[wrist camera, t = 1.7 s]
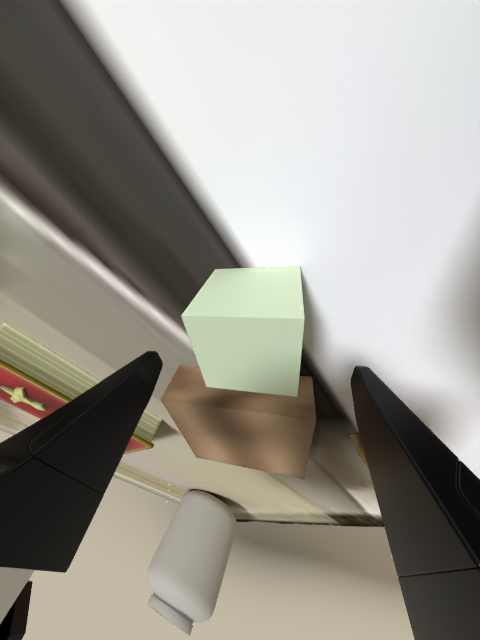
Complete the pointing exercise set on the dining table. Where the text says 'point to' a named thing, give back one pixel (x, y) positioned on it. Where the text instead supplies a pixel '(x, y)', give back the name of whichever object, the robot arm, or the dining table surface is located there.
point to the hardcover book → (51, 382)
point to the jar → (192, 560)
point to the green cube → (249, 329)
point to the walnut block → (243, 423)
